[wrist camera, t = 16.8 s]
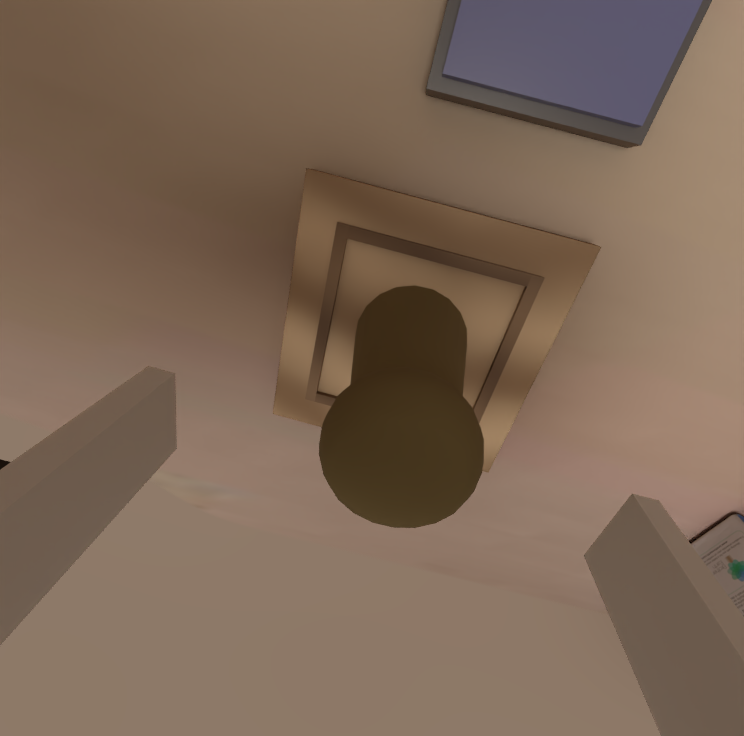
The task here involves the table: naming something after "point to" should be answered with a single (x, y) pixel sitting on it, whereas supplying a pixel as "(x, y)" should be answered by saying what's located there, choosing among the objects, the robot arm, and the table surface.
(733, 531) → the ink cartridge box
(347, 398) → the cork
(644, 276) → the table surface
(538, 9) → the ink pad
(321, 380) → the board
